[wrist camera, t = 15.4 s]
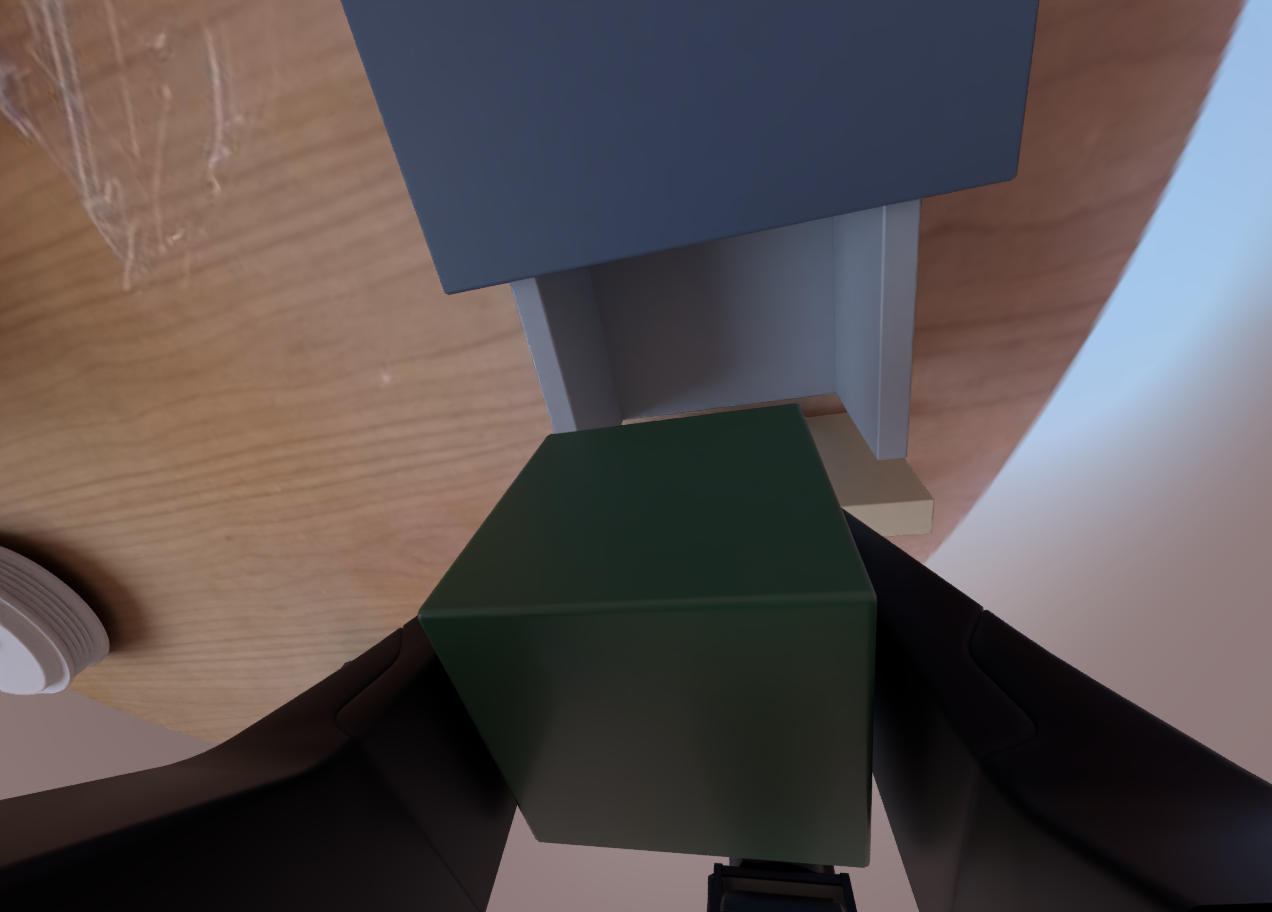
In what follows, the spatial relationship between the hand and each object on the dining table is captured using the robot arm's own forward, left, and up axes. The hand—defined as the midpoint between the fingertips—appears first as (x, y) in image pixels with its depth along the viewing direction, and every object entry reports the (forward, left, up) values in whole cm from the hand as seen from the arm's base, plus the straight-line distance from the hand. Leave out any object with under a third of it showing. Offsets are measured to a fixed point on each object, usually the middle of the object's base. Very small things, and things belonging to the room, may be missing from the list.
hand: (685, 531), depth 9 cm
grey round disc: (+44, +30, -13) cm, 55 cm away
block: (0, 0, 0) cm, 0 cm away
